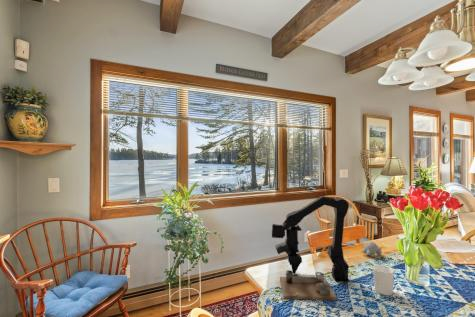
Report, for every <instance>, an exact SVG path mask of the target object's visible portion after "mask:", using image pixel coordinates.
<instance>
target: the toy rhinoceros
mask: <svg viewBox="0 0 475 317" xmlns="http://www.w3.org/2000/svg"><path fill="white" fill-rule="evenodd" d="M382 252H383V250H382V247H379V245H377V243H375V242H373V241H366V242H365V243H364V246H363V248H362V250H361V253H362V254H365V255H367V256H370V257H371V258H375V256H376V255H377V256H382Z"/></svg>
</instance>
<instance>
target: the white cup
mask: <svg viewBox="0 0 475 317" xmlns="http://www.w3.org/2000/svg"><path fill="white" fill-rule="evenodd" d="M372 271H373V272H372V273H373V283H374V284H373V285H374V290H375V292H377V293H378V294H381V295H384V296H392V295H393V293H394V292H393V289H394V279H395V278H394V277H395V276H394V275H395V270H394V268H391V267H390V266H387V265H384V264H375V265H373V266H372Z"/></svg>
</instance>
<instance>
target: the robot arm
mask: <svg viewBox="0 0 475 317" xmlns="http://www.w3.org/2000/svg"><path fill="white" fill-rule="evenodd" d="M323 206H327V207H330V208H333V211H334V212H333V213H334V221H333V222H334V223H333V234H332V243H331V245H329V244H328V246H327V252H326V253H327V255H328V257H329V259H330V261H331V263H332V268H331V277H332V278H333V279H334V280H335V282H338V283H339V282H341V283H350V279H349V268H350V265H349V264H348V262H347V261H346V260H345V257H344V250H343V236H344V228H345V227H344V225H345V217H346V216H347V214H348V211H349V207H350V204H349V202H348V201H347V200H346V199H344V198H342V197H336V198H335V197H328V196H324V195H321V196H319V197H318V198H316V199H315V200H313V201H311V202H310V203H308V204H307V205H305V206H303V207H302V208H301V209H297V210H294V211H291V212H289V213H287V214H286V216H285V220H284V221H283V222H282V224H276V223H272V225H271V226H272V229H271V238H272V239H273V238H274V239H284V238H285V239H284V240H285V241H283V242H280V243H277V244H276V245H275V244H274V245H275V249H276V253H277V254H278V255H280V254H283V253H285V254H287V261H288V263H289V265H290V266H291V271H292V272H293V274H296V273H297V270H298V269H299V266H300V265H301V264H302V263H303V258H302V256H301V254H300V252H299V251H300V250H299V244H300V243H299V231H300V232H301V231H303V230H302V227H301V226H299V223H301V221H302V220H304V218H305V217H307V216H309V215H310V214H312V213H314V212H315V211H316V210H319V209H320V208H322V207H323Z"/></svg>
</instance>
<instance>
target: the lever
mask: <svg viewBox="0 0 475 317" xmlns="http://www.w3.org/2000/svg"><path fill="white" fill-rule="evenodd" d="M285 277H286V282H287V283H319V282H320V283H324V278H325V276H324V273H323V272H321V271H316V272H315V274H301V273H300V274H298V273H297V274H296V273H295V274H293V271H292V270H286V271H285Z"/></svg>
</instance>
